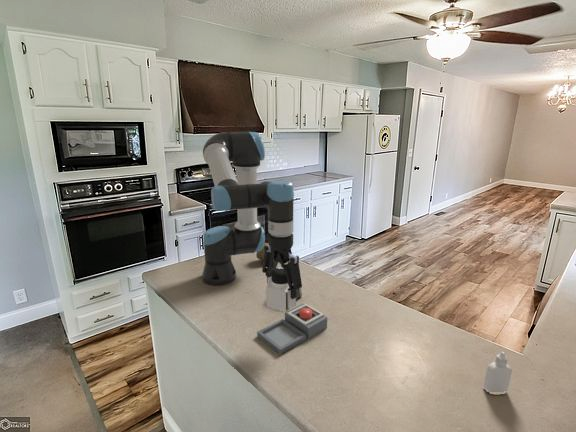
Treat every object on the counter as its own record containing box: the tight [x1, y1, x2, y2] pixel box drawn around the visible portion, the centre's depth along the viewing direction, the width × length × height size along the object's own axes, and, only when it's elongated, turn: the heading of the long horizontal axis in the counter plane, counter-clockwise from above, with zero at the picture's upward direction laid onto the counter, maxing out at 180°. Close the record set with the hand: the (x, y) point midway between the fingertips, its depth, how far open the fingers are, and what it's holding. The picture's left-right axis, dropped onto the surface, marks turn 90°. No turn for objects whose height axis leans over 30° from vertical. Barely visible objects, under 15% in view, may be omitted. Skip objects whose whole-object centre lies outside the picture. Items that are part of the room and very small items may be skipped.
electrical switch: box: [296, 287, 303, 301], centre depth 132 cm, size 9×5×9 cm, turn 57°
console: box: [256, 303, 328, 356], centre depth 110 cm, size 12×21×5 cm, turn 131°
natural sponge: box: [255, 242, 269, 261], centre depth 165 cm, size 9×9×10 cm
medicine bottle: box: [265, 267, 293, 313], centre depth 102 cm, size 7×7×12 cm
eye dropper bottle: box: [483, 351, 513, 392], centre depth 85 cm, size 4×6×12 cm
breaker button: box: [299, 308, 312, 321], centre depth 114 cm, size 4×4×4 cm
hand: (281, 300), depth 104 cm, fingers closed on medicine bottle, 9 cm apart
